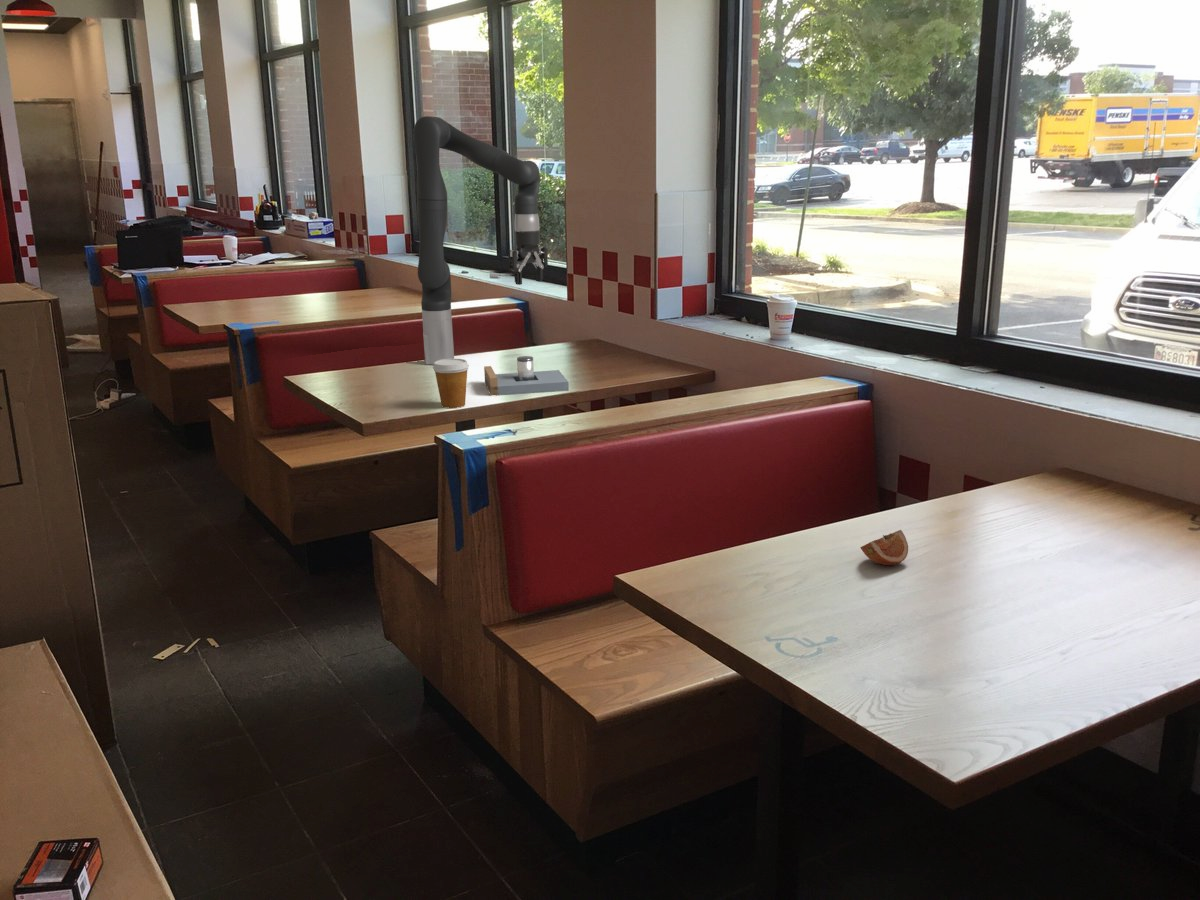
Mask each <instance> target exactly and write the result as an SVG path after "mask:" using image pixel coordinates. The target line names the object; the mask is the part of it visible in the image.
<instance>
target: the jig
mask: <svg viewBox="0 0 1200 900" xmlns="http://www.w3.org/2000/svg"><path fill="white" fill-rule="evenodd" d="M483 371H484V372H483V373H484V384H485V386H486V388H487V391H488V390H489V391H488V393H489V392H490V393H489V394H491V395H496V396H509V395H520V394H521V395H523V394H525V395H526V394H535V393H536V394H537V393H538V394H539V393H552V392H564V391H569V390H570V389H569V387H570V386H569V381H568V379H567V378H566V377H565V376H564V374H562V372H561V371H560V369H557V370H556V369H555V370H540V371H539V370H538V371H537V370H536V371H534V380H532V381H518V372H510V373H509V372H507V373H495V371H494V369H493V367H492V365H489V366H485V365H484V366H483ZM491 395H490V396H491Z"/></svg>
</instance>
